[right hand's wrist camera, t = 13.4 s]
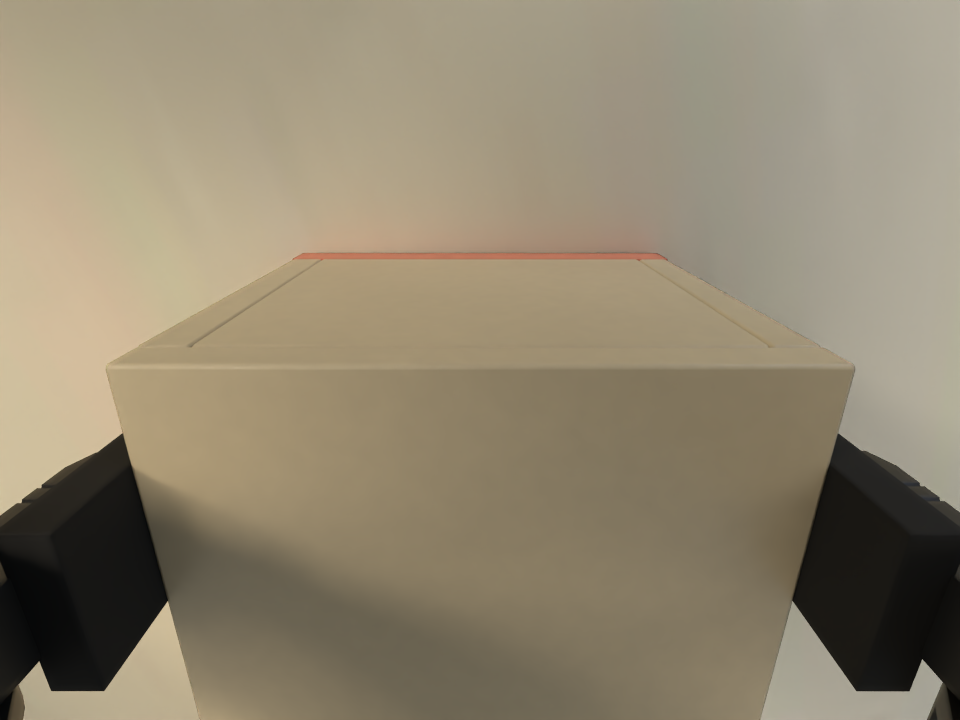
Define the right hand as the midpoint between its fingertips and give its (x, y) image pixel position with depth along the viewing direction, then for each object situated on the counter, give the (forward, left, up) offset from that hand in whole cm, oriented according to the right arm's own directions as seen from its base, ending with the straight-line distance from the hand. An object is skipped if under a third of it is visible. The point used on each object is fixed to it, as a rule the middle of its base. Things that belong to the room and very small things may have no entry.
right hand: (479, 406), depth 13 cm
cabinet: (+3, -5, -4) cm, 8 cm away
